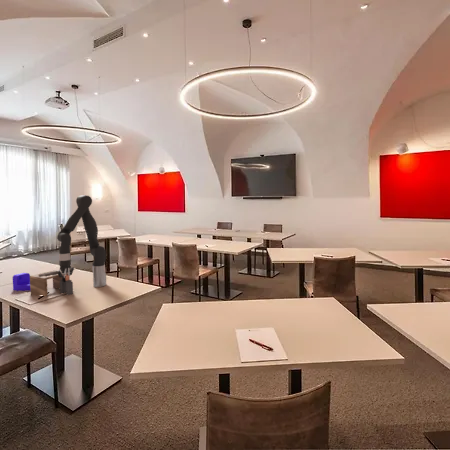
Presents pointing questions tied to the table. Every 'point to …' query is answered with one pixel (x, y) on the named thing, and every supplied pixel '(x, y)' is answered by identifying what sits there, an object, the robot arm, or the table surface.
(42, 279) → the shelf rack
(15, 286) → the bracket
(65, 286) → the dark grey orange block
